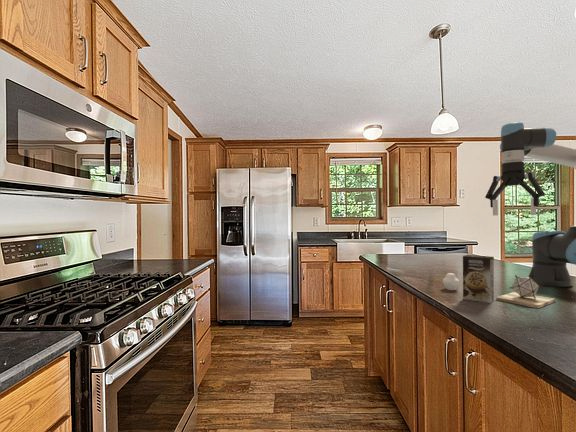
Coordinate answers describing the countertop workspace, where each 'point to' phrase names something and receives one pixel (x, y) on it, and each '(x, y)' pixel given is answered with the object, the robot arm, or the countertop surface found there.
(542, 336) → the countertop surface
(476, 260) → the cookie box
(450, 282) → the white knobbed ball
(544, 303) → the birch board
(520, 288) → the wireframe polyhedron
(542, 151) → the robot arm
